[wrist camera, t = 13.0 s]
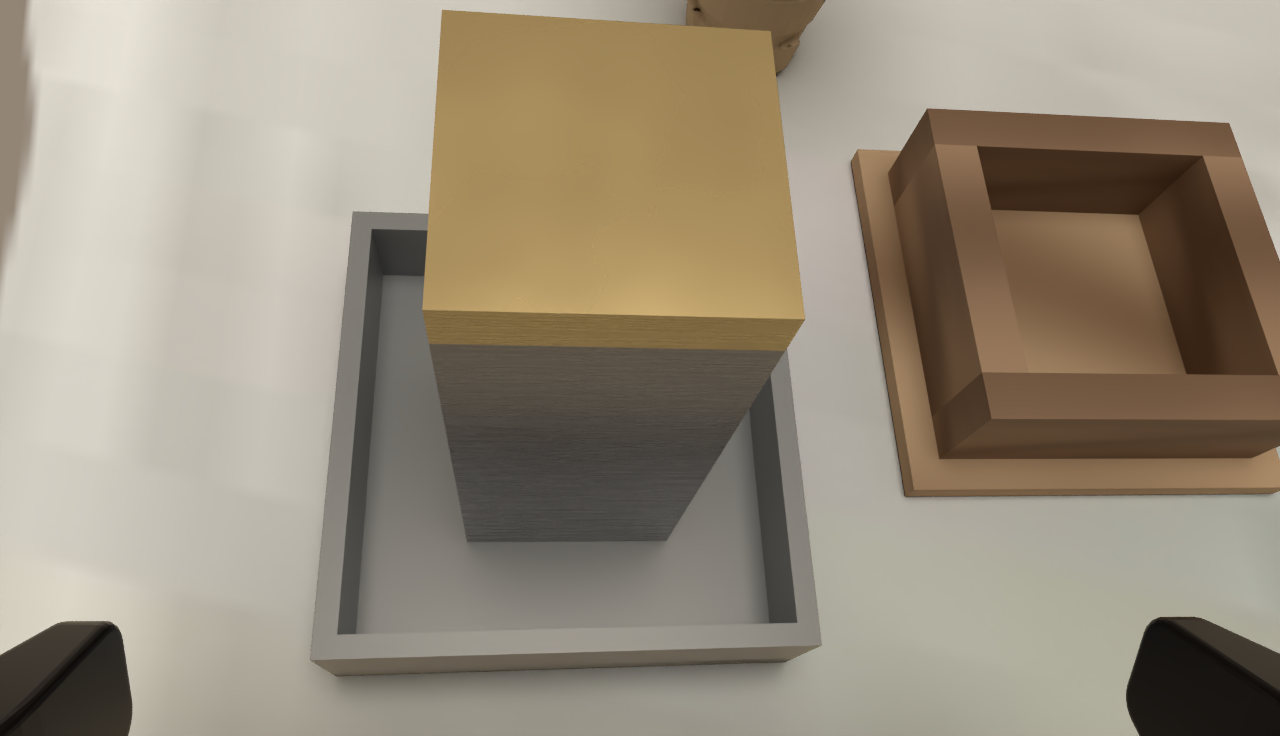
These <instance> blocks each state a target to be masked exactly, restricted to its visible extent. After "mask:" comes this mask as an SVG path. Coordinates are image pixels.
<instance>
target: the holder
mask: <svg viewBox="0 0 1280 736" xmlns="http://www.w3.org/2000/svg"><path fill="white" fill-rule="evenodd" d="M851 164H852V170H853V176H854V182H855V188H856V194H857V201H858V207H859V213H860V219H861V225H862V231H863V238H864V244H865V250H866V256H867V262H868V269H869V275H870V281H871V287H872V293H873V299H874V306H875V312H876V318H877V324H878V330H879V336H880V343H881V349H882V355H883V361H884V367H885V374H886V380H887V386H888V392H889V398H890V404H891V411H892V417H893V423H894V429H895V435H896V441H897V448H898V454H899V460H900V466H901V472H902V479H903V485H904V491H905V496H1023V495H1152V494H1273V493H1275V492H1278V491H1280V460H1279V457H1278V454H1277V451H1276V447H1278V446H1280V261H1279V258H1278V255H1277V253H1276V250H1275V247H1274V244H1273V242H1272V239H1271V236H1270V233H1269V231H1268V228H1267V225H1266V223H1265V220H1264V217H1263V214H1262V212H1261V209H1260V206H1259V203H1258V201H1257V198H1256V195H1255V192H1254V190H1253V187H1252V184H1251V182H1250V179H1249V176H1248V173H1247V171H1246V168H1245V165H1244V162H1243V160H1242V157H1241V154H1240V152H1239V149H1238V146H1237V143H1236V141H1235V138H1234V135H1233V132H1232V130H1231V127H1230V124H1229V123H1216V122H1196V121H1175V120H1154V119H1134V118H1113V117H1092V116H1072V115H1051V114H1030V113H1010V112H989V111H969V110H948V109H927V110H926V112H925V113H924V115H923V116H922V118H921V120H920V121H919V123H918V125H917V126H916V128H915V130H914V131H913V133H912V134H911V136H910V138H909V139H908V141H907V143H906V144H905V146H904V148H903V149H902V151H883V150H859V149H857V151H856V153H855V155H854V157H853V159H852V161H851Z"/></svg>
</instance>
